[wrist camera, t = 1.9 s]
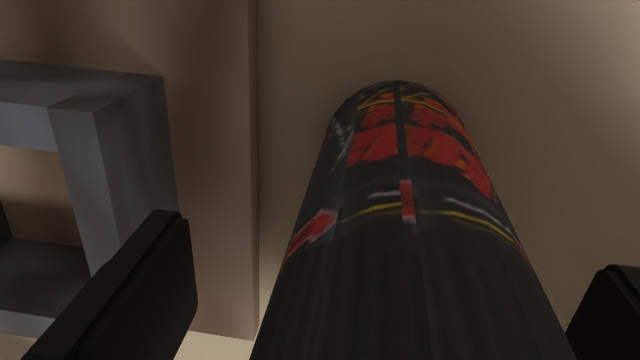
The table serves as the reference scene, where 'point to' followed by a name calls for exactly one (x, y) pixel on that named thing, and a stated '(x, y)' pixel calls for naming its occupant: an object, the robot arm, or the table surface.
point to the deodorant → (405, 247)
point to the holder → (127, 149)
